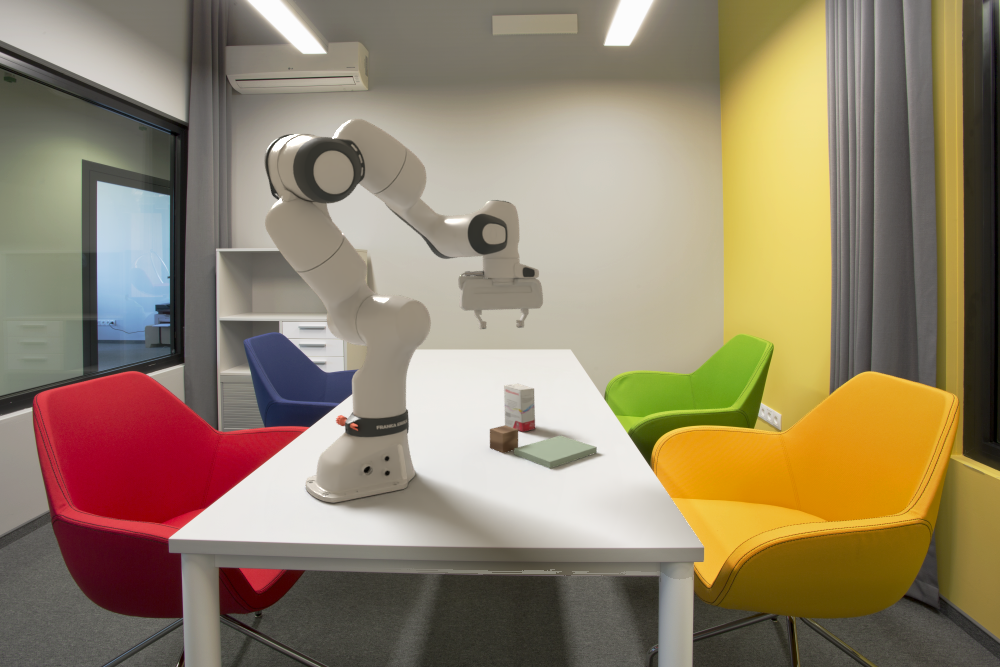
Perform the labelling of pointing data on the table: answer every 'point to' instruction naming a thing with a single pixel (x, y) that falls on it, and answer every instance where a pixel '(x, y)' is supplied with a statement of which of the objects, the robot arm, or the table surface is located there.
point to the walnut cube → (503, 438)
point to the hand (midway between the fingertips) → (501, 328)
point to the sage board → (555, 451)
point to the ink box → (519, 407)
